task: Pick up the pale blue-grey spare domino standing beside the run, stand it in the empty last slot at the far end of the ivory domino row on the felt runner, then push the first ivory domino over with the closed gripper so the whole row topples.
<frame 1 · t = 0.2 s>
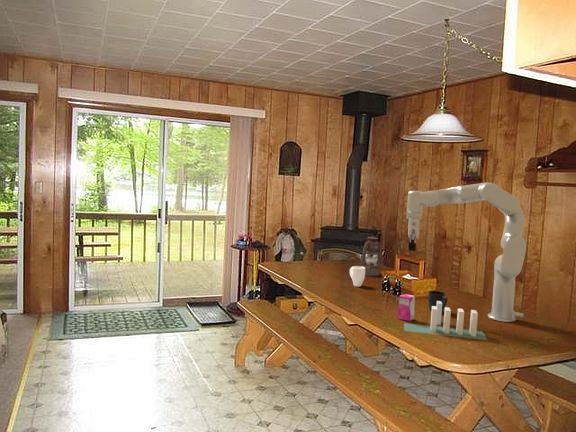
hand: (411, 249, 247), 31 cm above the table, fingers open, 9 cm apart
domino 4: (433, 329, 216), resting on runner mat
domino 1: (472, 334, 212), resting on runner mat
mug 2: (355, 285, 301), on the table
domino 3: (446, 331, 215), resting on runner mat
runner mat: (443, 331, 215), on the table
spare domino: (437, 323, 227), on the table
domino 2: (459, 332, 214), resting on runner mat
mug: (437, 312, 247), on the table
lantern: (370, 274, 336), on the table
supplement box: (405, 320, 231), on the table
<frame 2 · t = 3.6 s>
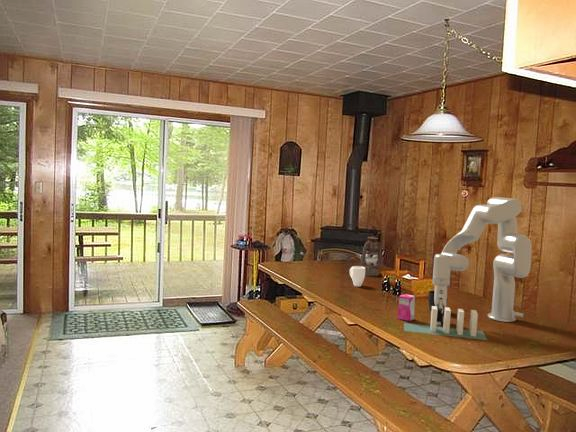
hand: (438, 319, 227), 2 cm above the table, fingers closed on spare domino, 5 cm apart
spare domino: (437, 323, 227), on the table, touching gripper
everything else where it was.
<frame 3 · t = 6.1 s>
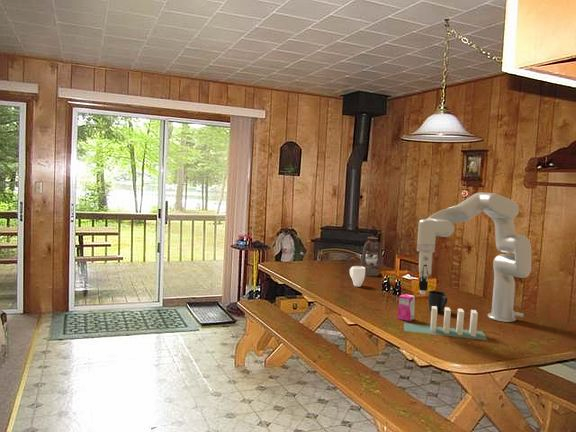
hand: (422, 288, 216), 18 cm above the table, fingers closed on spare domino, 5 cm apart
spare domino: (422, 292, 216), point 16 cm above the table, touching gripper
everything else where it was.
when the fingers open (3 cm above the table, at t = 8.8 s): spare domino stays where it is, resting on runner mat.
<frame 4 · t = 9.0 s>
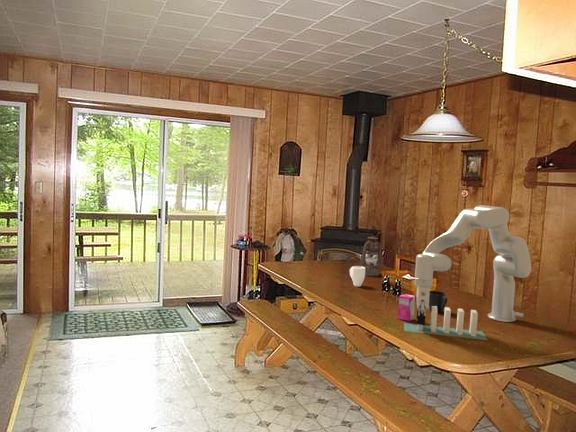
hand: (420, 321, 217), 3 cm above the table, fingers open, 7 cm apart
spare domino: (420, 328, 217), resting on runner mat
everything else where it was.
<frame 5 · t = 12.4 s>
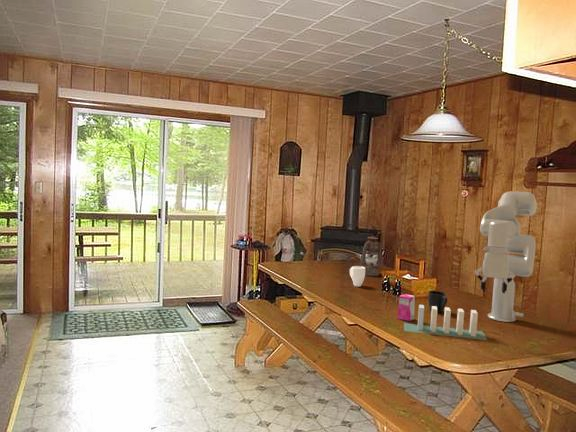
hand: (493, 291, 209), 20 cm above the table, fingers open, 7 cm apart
nothing on the table moved.
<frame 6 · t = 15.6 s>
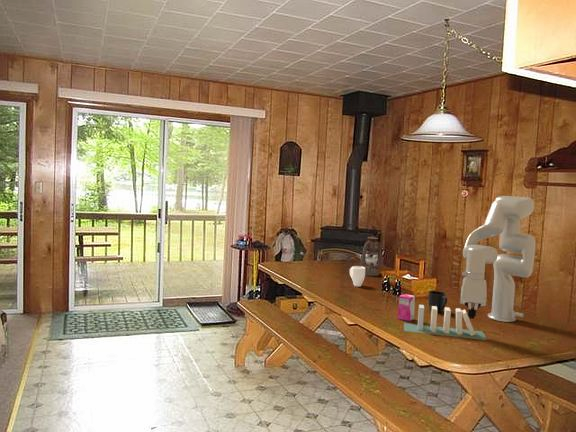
hand: (471, 317, 212), 7 cm above the table, fingers closed
domino 1: (472, 333, 212), point 1 cm above the table, tilted 26°, touching runner mat
domino 2: (459, 332, 213), resting on runner mat, tilted 6°
everything else where it was.
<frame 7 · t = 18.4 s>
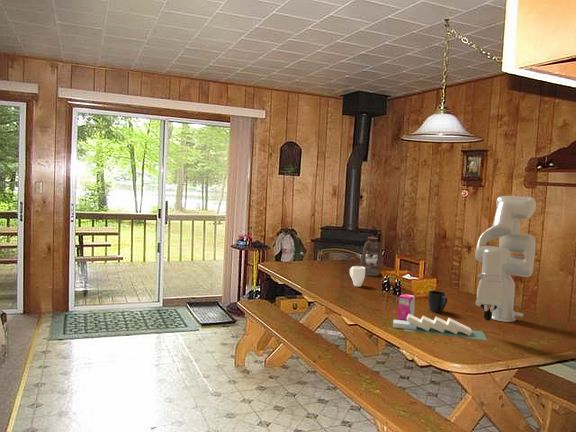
hand: (487, 319, 211), 7 cm above the table, fingers closed
domino 4: (429, 327, 216), point 1 cm above the table, tilted 69°, touching domino 3, runner mat, spare domino
domino 1: (470, 331, 212), point 1 cm above the table, tilted 69°, touching domino 2, runner mat
domino 3: (443, 329, 215), point 1 cm above the table, tilted 70°, touching domino 2, domino 4, runner mat
spare domino: (416, 325, 217), point 1 cm above the table, tilted 90°, touching domino 4, runner mat
domino 2: (456, 330, 214), point 1 cm above the table, tilted 69°, touching domino 1, domino 3, runner mat
everything else where it was.
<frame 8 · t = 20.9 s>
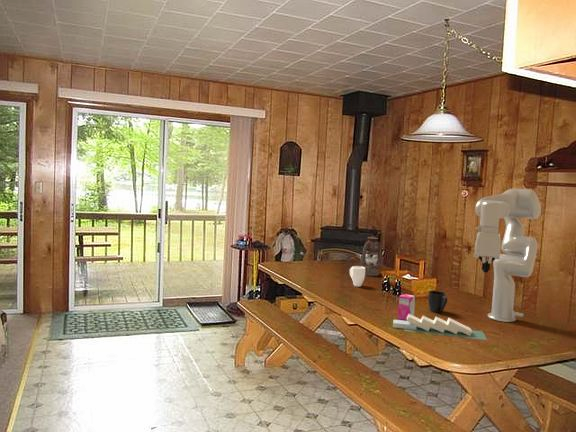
hand: (485, 271, 214), 27 cm above the table, fingers closed
nothing on the table moved.
at the end: spare domino tilted 90°; domino 3 tilted 70°; spare domino inside the target area (2.8 cm from its centre), point 1.3 cm above the table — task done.
